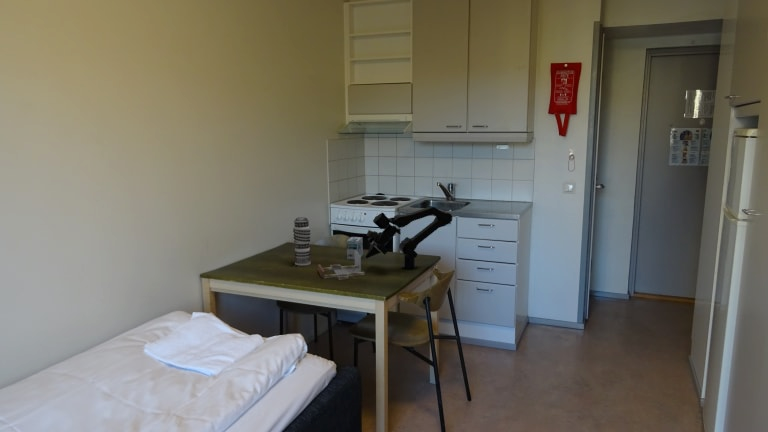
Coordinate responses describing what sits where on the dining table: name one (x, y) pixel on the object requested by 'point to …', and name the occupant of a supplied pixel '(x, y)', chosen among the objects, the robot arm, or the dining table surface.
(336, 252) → the dining table surface
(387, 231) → the robot arm
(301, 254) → the decorative candle
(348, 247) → the light bulb box
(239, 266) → the dining table surface
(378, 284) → the dining table surface
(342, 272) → the bookend
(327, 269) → the trap lane
